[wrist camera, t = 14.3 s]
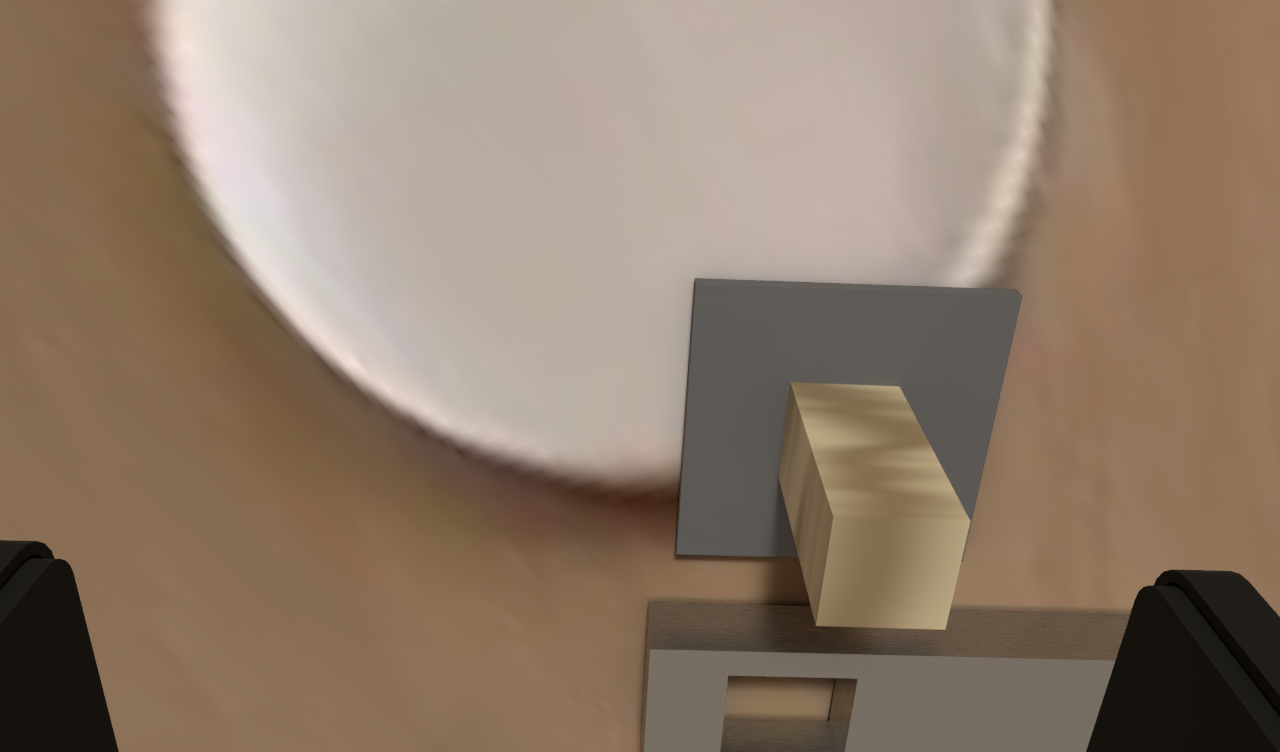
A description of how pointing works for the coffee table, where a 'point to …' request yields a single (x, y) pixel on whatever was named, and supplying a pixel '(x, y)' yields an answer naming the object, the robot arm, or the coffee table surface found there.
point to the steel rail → (880, 680)
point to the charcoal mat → (831, 354)
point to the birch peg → (869, 508)
